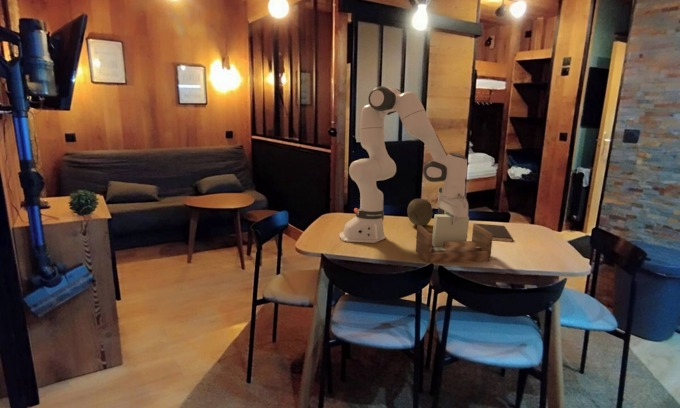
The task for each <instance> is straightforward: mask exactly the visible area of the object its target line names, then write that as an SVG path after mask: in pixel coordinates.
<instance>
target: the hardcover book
mask: <svg viewBox="0 0 680 408" xmlns="http://www.w3.org/2000/svg"><path fill="white" fill-rule="evenodd" d="M476 224H477V225H479V226H480V227H482V228H484V229H485V230H487V231H489V232H490V233H492V234H493V238H492V241H501V242H502V241H503V242H511V243H512V242H513V241H514V239H513V237H512V235H511V233H510V232H509V230H508V229H507V227H506V226H505V225H500V224H485V223H484V224H483V223H476Z"/></svg>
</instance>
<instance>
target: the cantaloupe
mask: <svg viewBox="0 0 680 408" xmlns="http://www.w3.org/2000/svg"><path fill="white" fill-rule="evenodd" d="M433 214H434V213H433V208H432V204H431V203H430V201H429V200H428V199H424V198H414V199H412V200H411V201H410V202H409V204H408V205H407V216H408V219H409V221H410V223H411V224H412V225H414V226H417V225H421V226H422V227H425V226H427V225H428V224H429V223H430V221H431V220H432V219H433V218H432V217H433Z"/></svg>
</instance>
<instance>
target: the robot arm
mask: <svg viewBox="0 0 680 408" xmlns="http://www.w3.org/2000/svg"><path fill="white" fill-rule="evenodd" d="M367 101H368V104H366V105H364V106H363V107H362V109H361V113H360V121H359V124H360V125H359V128H360V129H359V131H360V145H361V147H362V149H364V150H366V152H367V153H368V156H369V158H359V159H357V160H354V161H352V162H351V163H350V166H349V168H348V175H349V176H350V178H351V180H352V181H353V182H355V183H356V185H357V187H358V189H359V193H360V194H359V195H360V197H359V200H360V202H359V203H360V205H359V206H360V207H359V208H357V207H355V208H354V209H353V211H354V213H355V216H353V218H351V219H350V220H348V221H347V222H346V223H345V224H344V228H343V231H340V232H339V235H338V236H339V239H340V238H341V239H340V240H341V241H342V242H345V241H346V242H348V243H349V242H351V243H371V244H373V243H374V244H376V243H378V242H379V241H382V240H384V239H386V236H385V232H384V220H385V219H384V217H385V216H384V215H385V210H384V193H383V191H381V190H380V189H379V188H378V186H377V182H378V181H385V180H388V179H390V178H393V177H394V176H395V175H396V173H397V165H396V163H395V161H394V159H392V157H390V155H389V154H388V151H387V149H386V144H385V129H384V128H385V126H384V121H385V120H384V119H385V117H386V115H387V116H389V115H392V114H394V113H397V114H398V116H399V119H400V121H401V123H402V126H403V128H404V129H405V131H406V133H407V134H408V135H410V136H411V137H413V138H415V139H416V140H417V139H418V140H420V141H421V142H423V143H424V145H425V146H426V148H427V149H428V150H427V151H428V152H429V153H430V155H431V158H432V160H430V161H426V163H425V164H424V166H423V169H422V173H423V177H424V179H426V180H427V181H429V182H432V183H438V182H443V186H439V187H438V189H437V192H438V195H437V207H439V208H441V209H442V210H444V213H445V214H450V215H453V218H454V219H453V221H452V225H457V221H458V220H459V218H460V219H463V218H467V217H469V202H468V199H467V198H466V196H465V195H466V194H465V193H466V178H467V174H468V159H467V157H466V156H464V155H463V154H460V153H455V152H450V153H447V152H446V150H445V148H444V146H443V144H442V142H441V140H440V137H439V135H438V134H437V133H436V131H435V128H434V127H433V126H432V125H433V124H432V123H431V121H430V119H429V116H428V114H427V111H426V110H425V108H424V107H425V106H424V105H423V103H422V101H421V100H420V99H419V97H418V95H417V94H416V93H415V92H413V91H405V92H402V90H400V89H398V88H394V87H391V86H377V87H374V88H373V89H372V90H371V91H370V92H369V94H368V100H367Z"/></svg>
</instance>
